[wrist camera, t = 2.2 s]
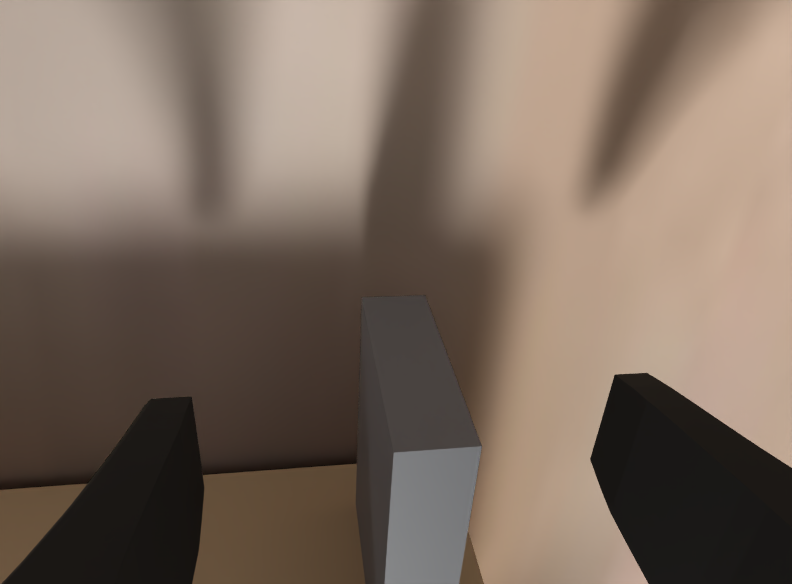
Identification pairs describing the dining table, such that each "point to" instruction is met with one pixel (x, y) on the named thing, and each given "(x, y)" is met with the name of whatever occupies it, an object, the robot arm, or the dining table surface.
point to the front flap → (335, 483)
